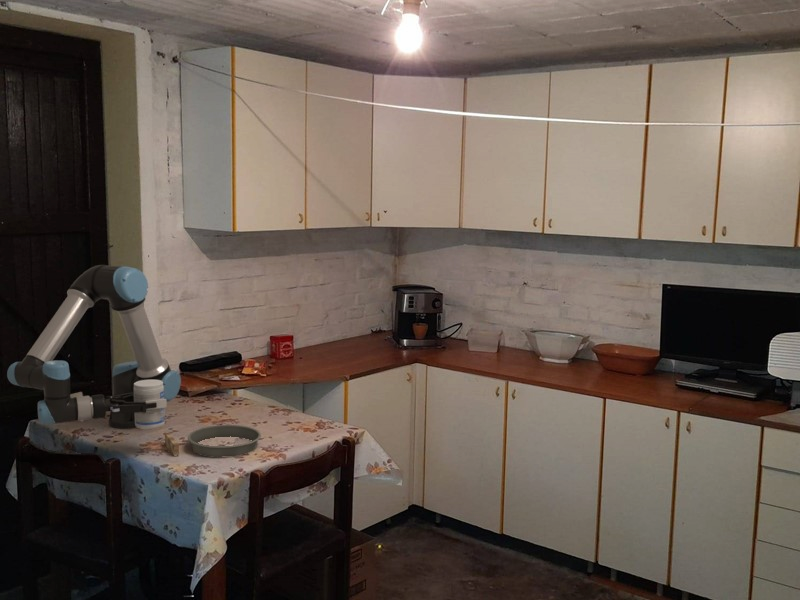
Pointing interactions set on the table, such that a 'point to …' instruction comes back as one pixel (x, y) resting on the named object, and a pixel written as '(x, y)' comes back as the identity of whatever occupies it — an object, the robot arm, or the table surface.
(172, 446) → the stop rail
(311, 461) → the table surface
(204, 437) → the cake pan
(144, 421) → the supplement tub
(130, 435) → the table surface
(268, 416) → the table surface
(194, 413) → the table surface
